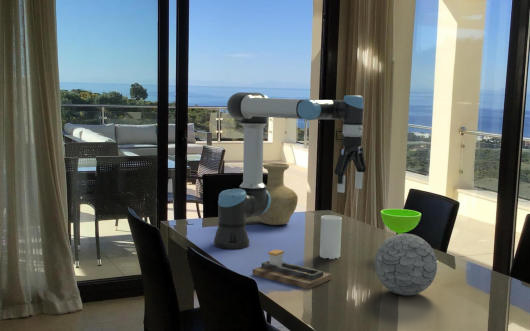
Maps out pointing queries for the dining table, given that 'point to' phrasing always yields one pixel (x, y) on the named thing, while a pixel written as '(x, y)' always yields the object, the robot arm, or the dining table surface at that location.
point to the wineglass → (400, 219)
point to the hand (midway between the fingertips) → (349, 190)
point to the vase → (278, 196)
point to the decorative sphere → (406, 264)
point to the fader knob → (276, 257)
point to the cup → (330, 236)
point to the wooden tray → (292, 274)
